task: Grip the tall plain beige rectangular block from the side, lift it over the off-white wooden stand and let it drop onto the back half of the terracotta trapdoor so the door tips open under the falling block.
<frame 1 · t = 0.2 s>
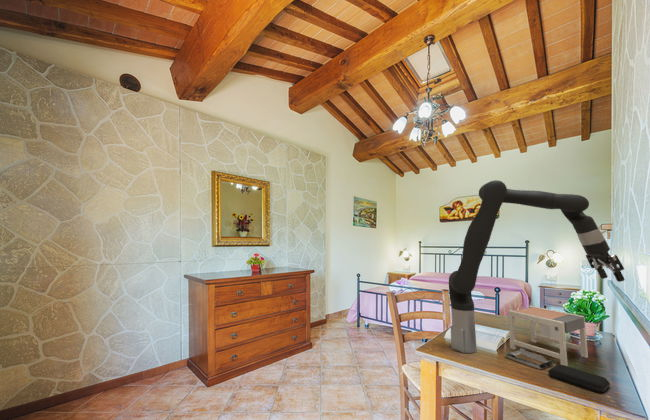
hand: (612, 279, 115), 31 cm above the table, tool tilted 20°, fingers open, 8 cm apart
trapdoor stand: (547, 352, 120), on the table
plain beige rectangular block: (549, 338, 136), on the table
trapdoor: (548, 318, 120), point 14 cm above the table, hinge at 0.0°
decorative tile: (529, 363, 112), on the table
carrying case or bag: (578, 382, 97), on the table
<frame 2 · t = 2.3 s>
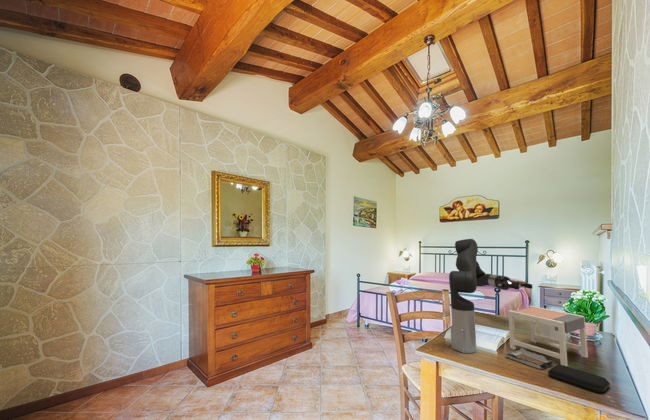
hand: (525, 287, 148), 22 cm above the table, tool horizontal, fingers open, 8 cm apart
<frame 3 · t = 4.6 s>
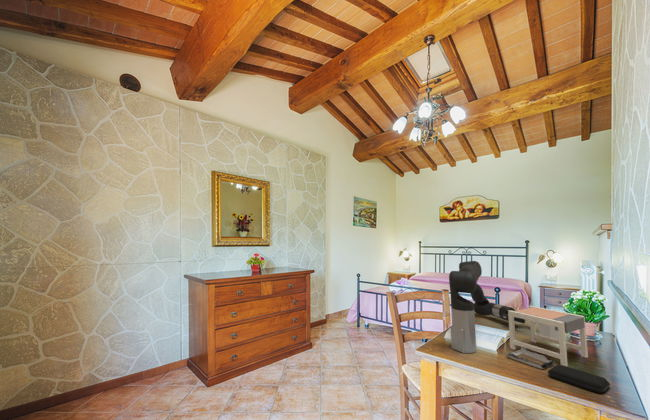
hand: (531, 320, 145), 6 cm above the table, tool horizontal, fingers open, 8 cm apart
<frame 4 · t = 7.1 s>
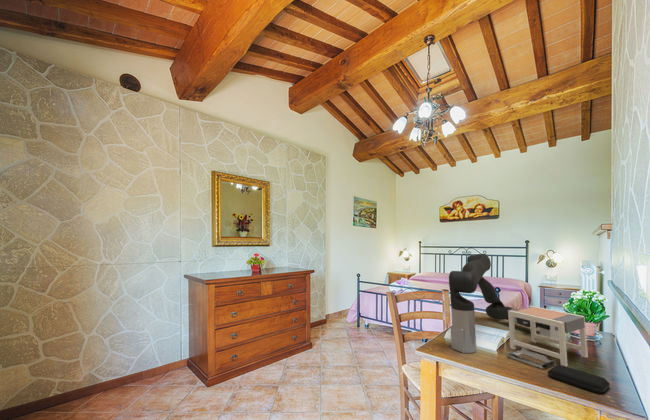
hand: (554, 327, 134), 6 cm above the table, tool horizontal, fingers closed on plain beige rectangular block, 5 cm apart
plain beige rectangular block: (549, 338, 136), on the table, touching gripper
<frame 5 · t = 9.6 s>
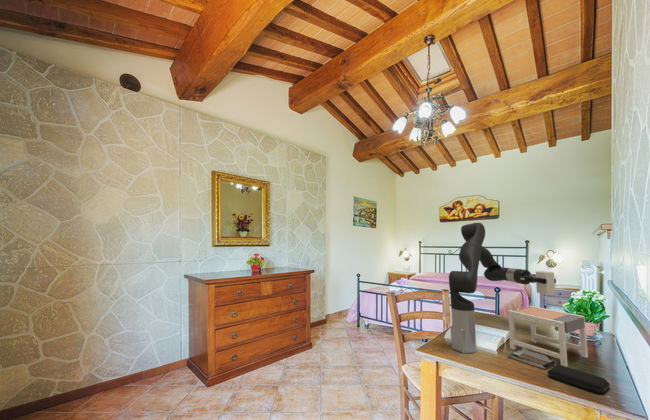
hand: (550, 281, 136), 27 cm above the table, tool horizontal, fingers closed on plain beige rectangular block, 5 cm apart
plain beige rectangular block: (545, 293, 138), point 21 cm above the table, touching gripper
when the fingers open (24 cm above the table, at t = 12.4 s): plain beige rectangular block drops 8 cm and tips over, point 10 cm above the table.
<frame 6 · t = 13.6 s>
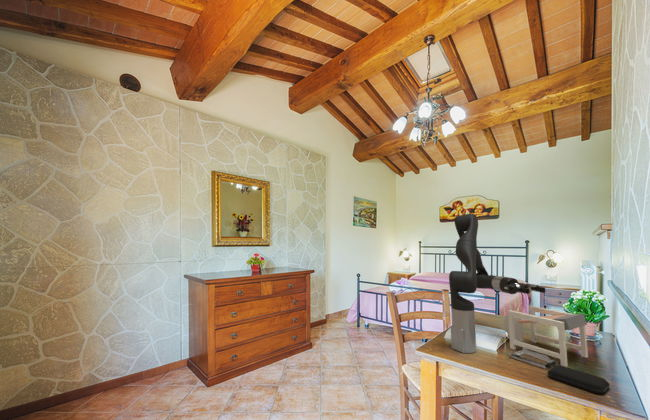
hand: (537, 290, 124), 25 cm above the table, tool horizontal, fingers open, 8 cm apart
plain beige rectangular block: (513, 317, 136), point 10 cm above the table, tilted 178°
trapdoor: (550, 322, 120), point 13 cm above the table, hinge at -16.7°
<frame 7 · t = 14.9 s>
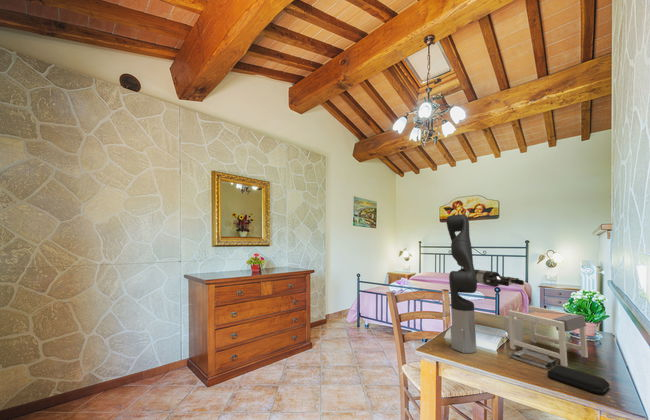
hand: (515, 283, 134), 27 cm above the table, tool horizontal, fingers open, 8 cm apart
trapdoor: (549, 320, 120), point 13 cm above the table, hinge at -8.9°
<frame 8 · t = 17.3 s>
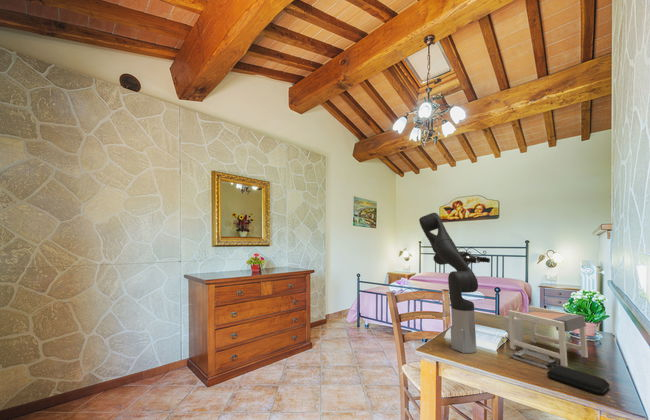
hand: (482, 260, 148), 36 cm above the table, tool horizontal, fingers open, 8 cm apart
trapdoor: (549, 320, 120), point 13 cm above the table, hinge at -8.0°
at the end: plain beige rectangular block point 10.0 cm above the table; the gripper is holding nothing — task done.
